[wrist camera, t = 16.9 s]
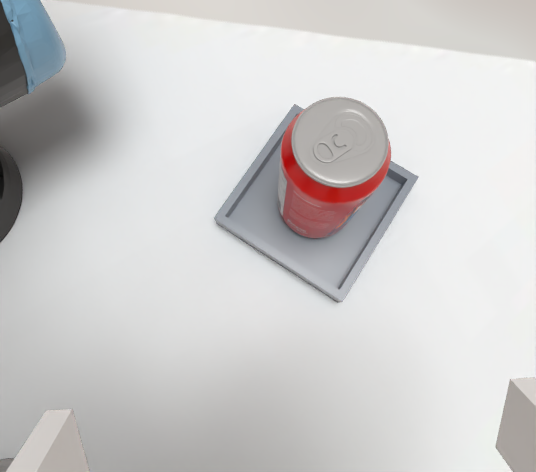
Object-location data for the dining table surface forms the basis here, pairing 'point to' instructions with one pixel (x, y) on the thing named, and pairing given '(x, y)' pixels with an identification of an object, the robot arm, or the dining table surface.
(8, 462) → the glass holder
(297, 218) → the soda can
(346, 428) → the dining table surface
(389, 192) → the tray
